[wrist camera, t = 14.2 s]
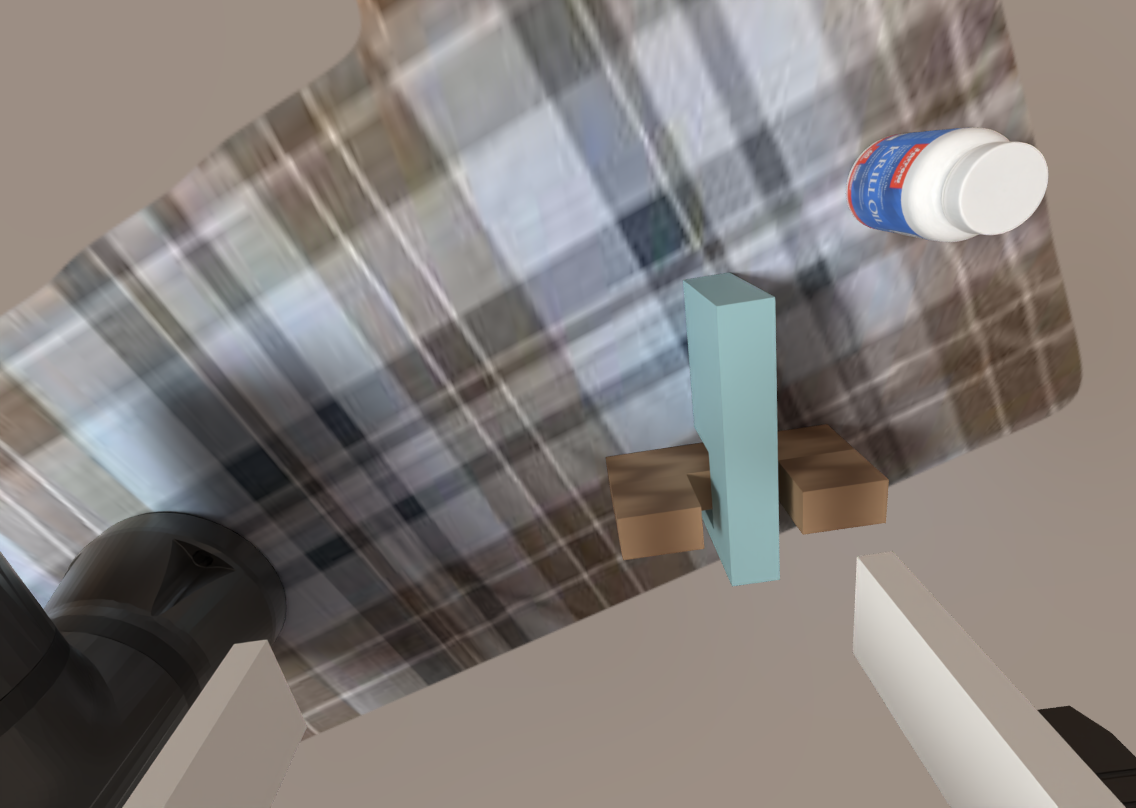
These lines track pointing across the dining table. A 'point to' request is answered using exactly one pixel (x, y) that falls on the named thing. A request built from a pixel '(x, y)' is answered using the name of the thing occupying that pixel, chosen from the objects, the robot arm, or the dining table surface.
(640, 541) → the brown u-shaped block
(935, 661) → the robot arm
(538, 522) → the dining table surface
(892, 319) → the dining table surface
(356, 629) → the dining table surface
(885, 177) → the pill bottle
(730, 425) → the teal bridge block
